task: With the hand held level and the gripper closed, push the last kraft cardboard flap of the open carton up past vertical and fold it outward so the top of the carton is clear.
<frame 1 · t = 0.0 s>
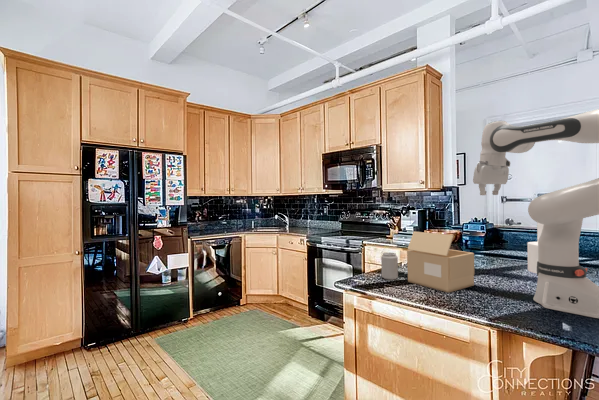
hand: (489, 195, 130), 39 cm above the countertop, tool pointing down, fingers open, 8 cm apart
can: (389, 278, 149), on the countertop
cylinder: (549, 272, 154), on the countertop
flap: (429, 242, 135), point 19 cm above the countertop, hinge at 60.0°
carton: (440, 283, 138), on the countertop
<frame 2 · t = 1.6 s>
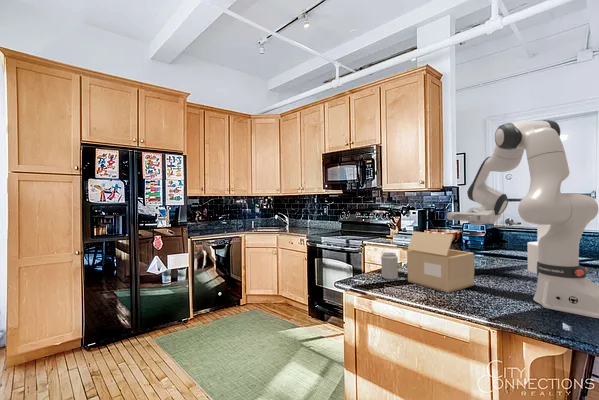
hand: (460, 217, 146), 28 cm above the countertop, tool horizontal, fingers open, 7 cm apart
nothing on the countertop moved.
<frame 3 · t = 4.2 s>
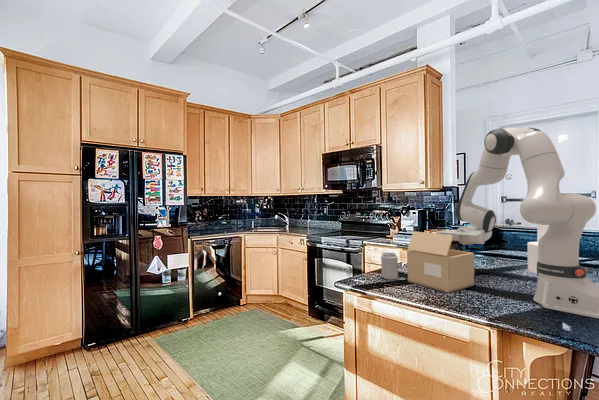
hand: (448, 237, 142), 20 cm above the countertop, tool horizontal, fingers closed
nothing on the countertop moved.
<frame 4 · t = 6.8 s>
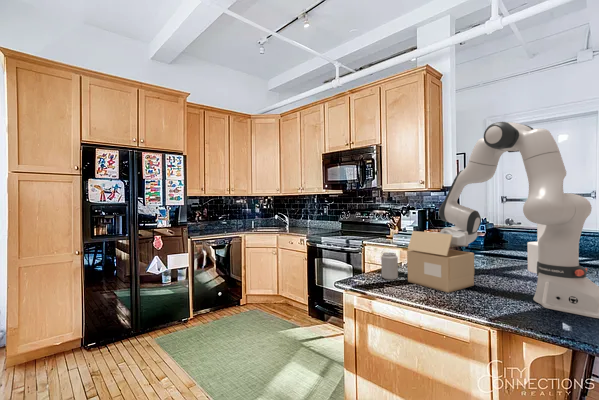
hand: (430, 239, 135), 20 cm above the countertop, tool horizontal, fingers closed, pressing on flap
flap: (428, 242, 134), point 19 cm above the countertop, hinge at 63.6°, touching gripper
everything else where it was.
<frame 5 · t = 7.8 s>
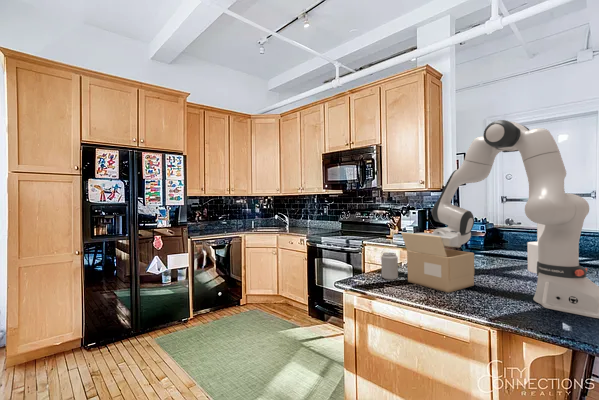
hand: (422, 240, 133), 20 cm above the countertop, tool horizontal, fingers closed, pressing on flap
flap: (422, 243, 132), point 19 cm above the countertop, hinge at 114.4°, touching gripper
everything else where it was.
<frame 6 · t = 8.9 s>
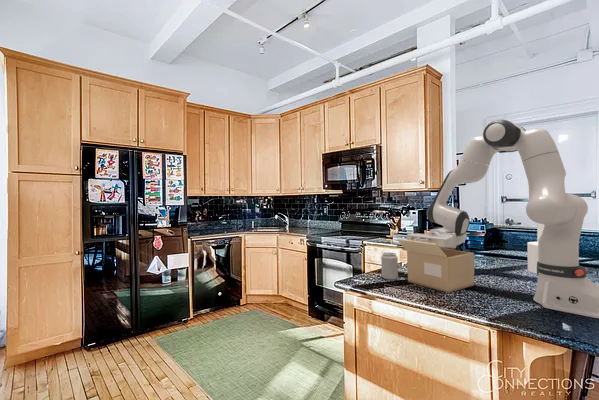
hand: (417, 241, 131), 20 cm above the countertop, tool horizontal, fingers closed, pressing on flap
flap: (420, 247, 132), point 17 cm above the countertop, hinge at 139.8°, touching gripper
everything else where it was.
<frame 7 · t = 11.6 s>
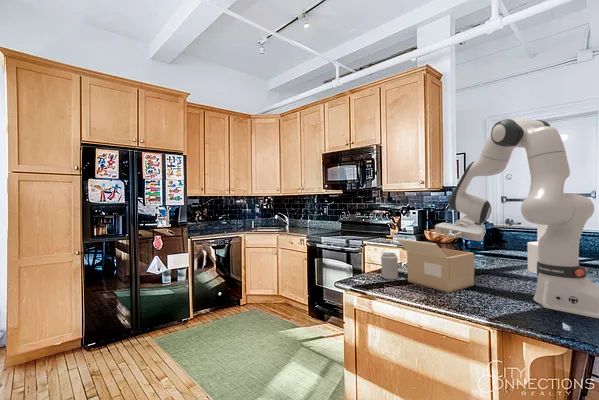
hand: (451, 236, 138), 21 cm above the countertop, tool horizontal, fingers closed
flap: (420, 247, 132), point 17 cm above the countertop, hinge at 140.0°
everything else where it was.
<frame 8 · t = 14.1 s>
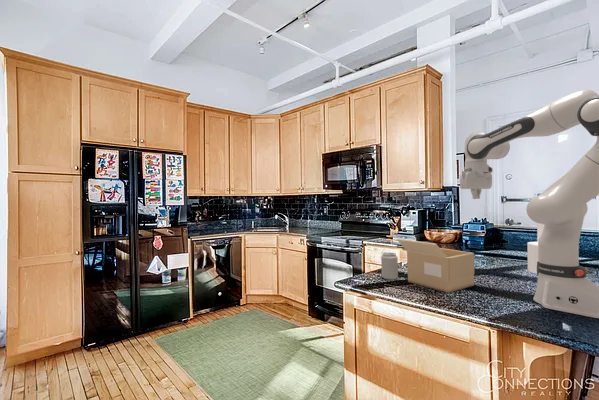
hand: (476, 199, 143), 37 cm above the countertop, tool pointing down, fingers closed
nothing on the countertop moved.
at the end: flap at +140° (first picture: +60°); can moved 0.2 cm from its start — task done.
